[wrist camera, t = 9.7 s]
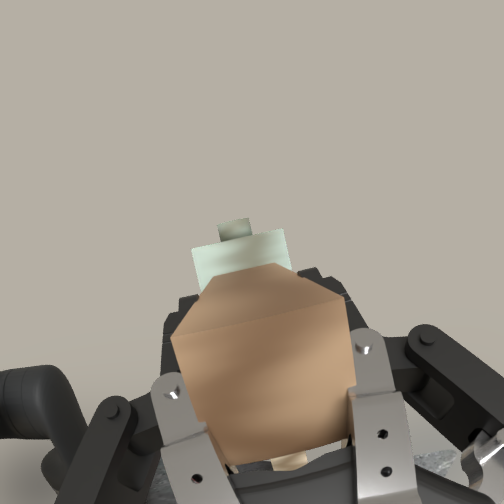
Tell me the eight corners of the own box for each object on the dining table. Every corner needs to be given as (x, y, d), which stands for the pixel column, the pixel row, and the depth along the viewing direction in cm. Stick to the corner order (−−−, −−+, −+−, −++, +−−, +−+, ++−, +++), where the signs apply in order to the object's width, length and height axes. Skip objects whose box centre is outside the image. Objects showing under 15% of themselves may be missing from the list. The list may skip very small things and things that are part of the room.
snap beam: (182, 471, 7) (99, 208, 6) (218, 316, 26) (198, 233, 25) (393, 420, 7) (352, 152, 7) (287, 301, 26) (268, 217, 26)
